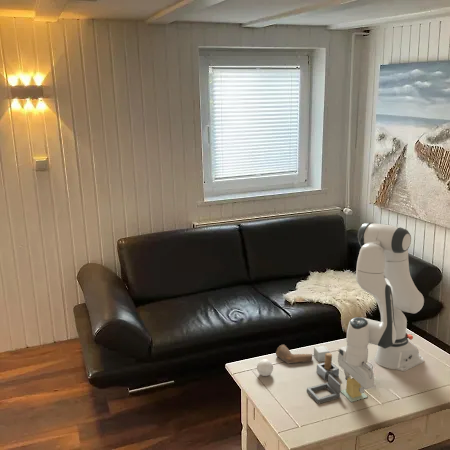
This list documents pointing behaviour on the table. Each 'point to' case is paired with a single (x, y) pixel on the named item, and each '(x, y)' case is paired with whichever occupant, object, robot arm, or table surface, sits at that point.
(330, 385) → the case
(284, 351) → the pipe
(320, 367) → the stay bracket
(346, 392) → the pad
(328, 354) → the rod
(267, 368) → the white ovoid
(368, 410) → the table surface
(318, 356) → the small box
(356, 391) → the block
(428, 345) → the table surface
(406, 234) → the robot arm
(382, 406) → the table surface
